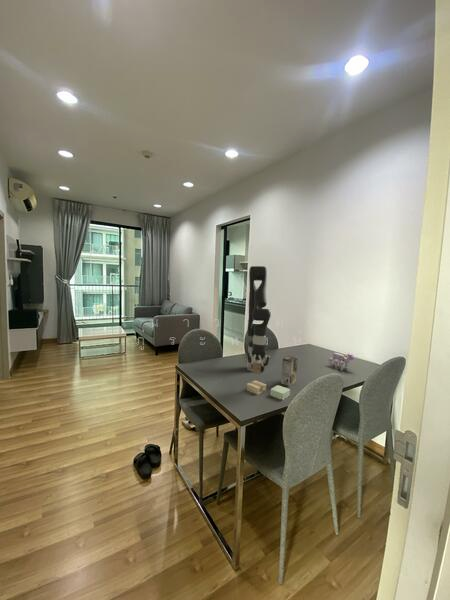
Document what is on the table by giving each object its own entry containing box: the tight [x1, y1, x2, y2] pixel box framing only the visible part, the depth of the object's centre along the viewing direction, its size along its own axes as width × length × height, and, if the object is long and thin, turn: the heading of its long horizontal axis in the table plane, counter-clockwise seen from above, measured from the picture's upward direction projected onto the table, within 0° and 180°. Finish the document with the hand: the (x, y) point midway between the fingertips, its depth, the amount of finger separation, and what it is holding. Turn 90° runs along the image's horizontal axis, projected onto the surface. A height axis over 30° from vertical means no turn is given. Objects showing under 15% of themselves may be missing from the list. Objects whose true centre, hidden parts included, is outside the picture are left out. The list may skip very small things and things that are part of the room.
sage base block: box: [270, 385, 291, 401], centre depth 149 cm, size 8×8×4 cm
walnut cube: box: [251, 362, 263, 375], centre depth 153 cm, size 5×5×5 cm
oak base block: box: [246, 379, 267, 396], centre depth 154 cm, size 8×8×4 cm
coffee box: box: [280, 355, 298, 387], centre depth 167 cm, size 9×6×16 cm
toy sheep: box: [328, 352, 357, 372], centre depth 198 cm, size 20×11×14 cm, turn 35°
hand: (257, 370), depth 153 cm, fingers closed on walnut cube, 5 cm apart
